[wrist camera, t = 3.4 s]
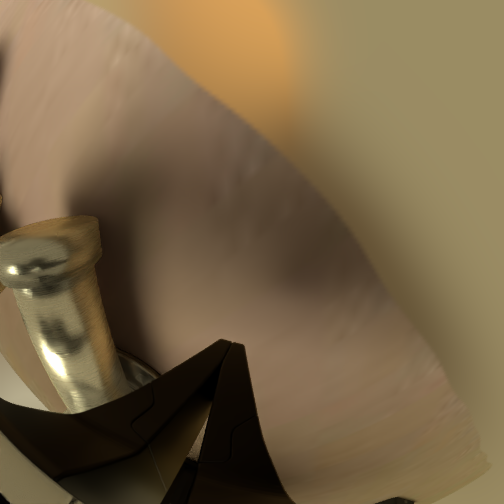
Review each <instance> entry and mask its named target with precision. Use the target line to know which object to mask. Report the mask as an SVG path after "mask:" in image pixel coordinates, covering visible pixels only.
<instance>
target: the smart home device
mask: <svg viewBox="0 0 504 504" xmlns="http://www.w3.org/2000/svg"><path fill="white" fill-rule="evenodd" d="M375 504H414V502H412V501H409V500H405V499H401V498H398V497H395V498H391V499H388V500H385V501H382V502H379V503H375Z"/></svg>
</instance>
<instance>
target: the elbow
mask: <svg viewBox="0 0 504 504" xmlns="http://www.w3.org/2000/svg"><path fill="white" fill-rule="evenodd" d="M101 257H102V247H101V240H100V232H99V224H98V219H97V218H96V217H93V216H68V217H61V218H55V219H49V220H45V221H41V222H37V223H33V224H30V225H27V226H24V227H21V228H18V229H16V230H13V231H11V232H9V233H7V234H5V235H3V236H1V237H0V281H1V283H2V284H3V285H4V286H6V287H9V288H12V289H13V292H14V295H15V298H16V301H17V304H18V307H19V310H20V313H21V316H22V318H23V321H24V324H25V326H26V329H27V331H28V334H29V336H30V338H31V341H32V343H33V345H34V347H35V350H36V352H37V354H38V356H39V358H40V360H41V362H42V364H43V366H44V368H45V370H46V372H47V374H48V376H49V378H50V379H51V381H52V383H53V385H54V387H55V388H56V390H57V392H58V393H59V395H60V397H61V398H62V400H63V402H64V403H65V405H66V406H67V409H66V411H65V412H64V413H63V414H73V413H79V412H83V411H86V410H89V409H92V408H94V407H97V406H100V405H102V404H105V403H108V402H110V401H113V400H115V399H118V398H120V397H122V396H125V395H127V394H129V393H131V392H133V391H135V390H137V389H139V388H140V387H139V386H138V385H136V384H135V383H134V382H132V381H131V380H129V379H127V378H126V377H125V374H124V372H123V369H122V366H121V363H120V360H119V358H118V355H117V352H116V349H115V345H114V342H113V339H112V336H111V332H110V329H109V326H108V322H107V318H106V315H105V311H104V307H103V303H102V299H101V295H100V291H99V286H98V281H97V277H96V272H95V267H94V264H96V263H97V262H98V261H99V260H100V258H101Z"/></svg>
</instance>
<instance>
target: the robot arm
mask: <svg viewBox="0 0 504 504" xmlns="http://www.w3.org/2000/svg"><path fill="white" fill-rule="evenodd" d="M208 415H209V417H208ZM207 417H208V421H207V425H206V429H205V434H204V438H203V442H202V446H201V450H200V454H199V458H198V464H197V463H195V462H193V461H191V460H189V459H186V457H187V455H188V453H189V451H190V449H191V448H192V446H193V444H194V442H195V440H196V438H197V436H198V435H199V433H200V431H201V429H202V427H203V425H204V423H205V421H206V419H207ZM0 504H296V503H295V502H294V501H293V500H292V499H291V498H290V497H289V496H288V494H287V492H286V491H285V489H284V487H283V485H282V483H281V481H280V479H279V476H278V474H277V472H276V469H275V467H274V465H273V462H272V460H271V457H270V455H269V452H268V450H267V447H266V444H265V441H264V438H263V435H262V431H261V427H260V422H259V417H258V413H257V408H256V403H255V398H254V393H253V388H252V383H251V378H250V372H249V367H248V362H247V356H246V351H245V346H244V345H243V344H240V343H236V342H233V343H232V342H231V341H228V340H225V339H219V340H218V341H216V342H215V343H213V344H212V345H210V346H208V347H207V348H205V349H204V350H202V351H201V352H199V353H197V354H196V355H194V356H193V357H191V358H189V359H188V360H186V361H185V362H183V363H181V364H180V365H178V366H176V367H175V368H173V369H171V370H170V371H168V372H166V373H165V374H163V375H161V376H160V377H158V378H156V379H155V380H153V381H151V383H148V384H146V385H144V386H142V387H141V388H139V389H137V390H135V391H133V392H131V393H129V394H127V395H125V396H122V397H120V398H118V399H115V400H113V401H110V402H108V403H105V404H102V405H100V406H97V407H94V408H92V409H89V410H86V411H83V412H79V413H73V414H63V413H56V412H50V411H44V410H39V409H34V408H29V407H24V406H20V405H16V404H12V403H10V402H8V401H5V400H3V399H2V398H0Z"/></svg>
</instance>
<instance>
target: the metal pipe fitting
mask: <svg viewBox="0 0 504 504" xmlns="http://www.w3.org/2000/svg"><path fill="white" fill-rule="evenodd" d="M1 203H2V196H1V194H0V209H1ZM5 287H6V286H4V285H3V284H2V283H1V281H0V293H1V292H2V291H3V290H4V289H5ZM115 349H116V352H117V355H118V358H119V360H120V363H121V366H122V369H123V372H124V374H125V377H126V378H127V379H129V380H131V381H132V382H134V383H135V384H136V385H138V386H139V387H140V388H141V387H142V386H144V385H146V384H148V383H151V381H153V380H155V379H156V378H158V377H160V376H161V375H159V374H158V373H157V372H156V371H155V370H154V369H152V368H151V367H150V366H149V365H147V364H146V363H144V362H143V361H141V360H140V359H138V358H136V357H135V356H133V355H131V354H129V353H127V352H125V351H123V350H120V349H117V348H115Z"/></svg>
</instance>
